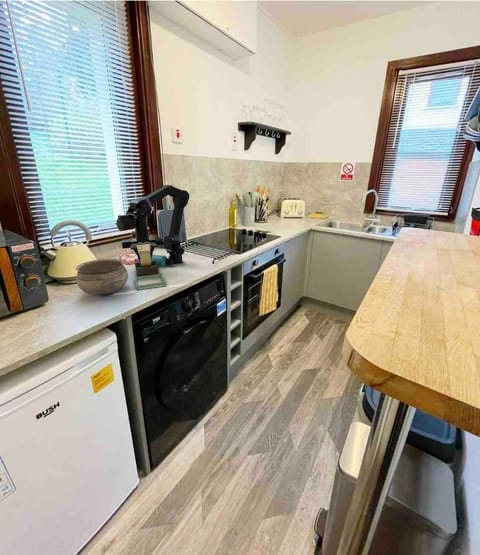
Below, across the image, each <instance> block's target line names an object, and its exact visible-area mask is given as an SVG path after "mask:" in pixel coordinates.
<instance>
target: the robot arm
mask: <svg viewBox="0 0 480 555" xmlns="http://www.w3.org/2000/svg"><path fill="white" fill-rule="evenodd" d="M190 195H191V194H190V193H189V192H188V190H186V189H181V188H178V187H175V186H174V185H172V184H164V185H163V186H162V187H160V188H158V189H156V190H155V191H153V192H151V193H149V194H147V195H145V196H141V197H137V198H134V199H131V200H130V201H129V207H128V208H127V211H126V213H125V214H119V215H117V219H116V222H115V225H116V228H117V230H118V231H119V232H125V231H131V236H132V239H135V240H133V241H131V239H122V240H121V248H122V249H124V250H125V249H130V250H133V252H134V253H135V254H136V256H137V258H139V260H140V255H139V249H138V246H141V245H149V252H150V257H151V258H152V255H154V251H155V249H156V248H158V246H163V248H164V250H165V251H166V253H167V254H169V255H168V256H167V258H172V259H173V260H174V263H173V265H180V264H183V262H184V260H183V255H184V254H185V249H184V248H183V247H182V246H181V239H180V238H181V237H180V232H181V231H180V230H181V227H182V226H181V225H182V221H183V215H184V210H185V208H186V206H188V203H189V201H190V198H191V197H190ZM167 196H169V197H171V198H172V199H171V200H172V204H173V210H172V216H171V222H170V228H169V233H168V235H167V236H164V237H162V236H156V237H155V236H154V237H153V239H150V235H149V234H150V233H149V226H148V218H151V217H152V216H151V214H149V213H148V211H149V210H150V209H151V207H152V206H153V205H154V204H157V203H158V202H159V201H161V200H163V199H164V198H166V197H167Z"/></svg>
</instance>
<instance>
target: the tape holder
mask: <svg viewBox="0 0 480 555" xmlns="http://www.w3.org/2000/svg"><path fill="white" fill-rule="evenodd" d="M134 268H135V272H136V273H135V274H136V277H141V276H149V275H156V274H160V271H159V266H158V265H157V266H156V260H151V265H146V266H141V262H137V261H135V262H134Z"/></svg>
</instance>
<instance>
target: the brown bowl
mask: <svg viewBox="0 0 480 555" xmlns="http://www.w3.org/2000/svg"><path fill="white" fill-rule="evenodd" d="M75 270H76V271H77V273H76V278H75V279H76V284H77V287H78V288H79V289H80V290H81V291H82V292H84V293H87V294H90V295H94V296H99V297H107V296H111V295H113V294H114V293H116V292H117V291H119V290H121V289H122V288H123V287H124V286H125V285H126V284H127V282H128V280H129V272H128V270H127V267H125V261H124V260H122V259H120V258H99V259H93V260H89V261H85V262H82V263H80V264H78V265H77V266H76V267H75Z"/></svg>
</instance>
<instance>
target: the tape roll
mask: <svg viewBox="0 0 480 555" xmlns="http://www.w3.org/2000/svg"><path fill="white" fill-rule="evenodd" d="M138 252H139V255H140V262H141V266H146V265H151V257H150V250H142V251H141V250H140V251H139V250H138Z"/></svg>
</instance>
